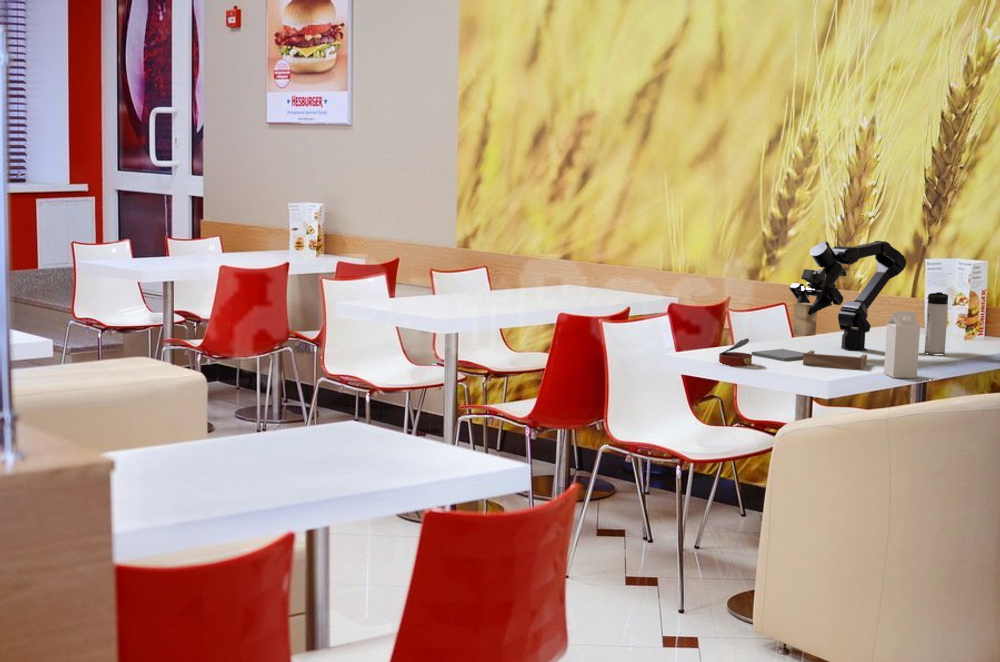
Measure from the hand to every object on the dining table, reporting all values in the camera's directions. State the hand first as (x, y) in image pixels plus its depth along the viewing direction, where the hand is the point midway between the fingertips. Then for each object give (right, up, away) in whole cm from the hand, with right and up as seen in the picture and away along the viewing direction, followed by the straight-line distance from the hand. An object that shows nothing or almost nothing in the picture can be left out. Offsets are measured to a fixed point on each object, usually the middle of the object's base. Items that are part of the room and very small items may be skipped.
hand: (802, 313), depth 410 cm
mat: (-7, -14, -2) cm, 15 cm away
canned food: (-25, -16, -18) cm, 35 cm away
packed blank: (+1, -7, +2) cm, 7 cm away
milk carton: (+20, -19, -36) cm, 45 cm away
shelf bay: (+6, -16, -17) cm, 24 cm away
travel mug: (+45, -13, +8) cm, 48 cm away
